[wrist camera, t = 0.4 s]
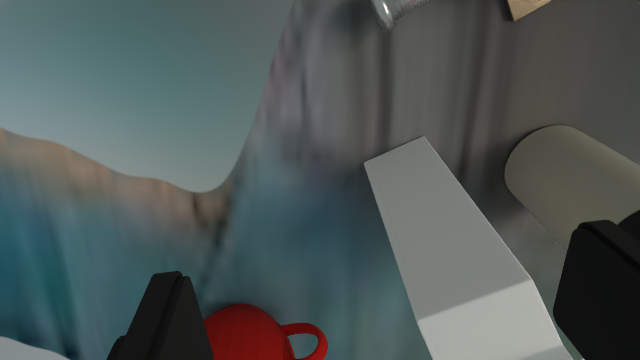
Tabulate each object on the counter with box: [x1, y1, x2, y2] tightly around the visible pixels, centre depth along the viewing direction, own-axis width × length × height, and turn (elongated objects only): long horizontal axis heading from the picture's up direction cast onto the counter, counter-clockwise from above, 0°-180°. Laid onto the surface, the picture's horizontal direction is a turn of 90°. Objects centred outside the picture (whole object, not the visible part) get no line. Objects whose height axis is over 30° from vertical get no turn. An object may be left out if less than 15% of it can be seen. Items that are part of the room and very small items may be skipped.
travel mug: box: [505, 125, 640, 251], centre depth 30 cm, size 8×8×18 cm
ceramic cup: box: [203, 304, 328, 360], centre depth 41 cm, size 13×17×10 cm
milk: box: [364, 136, 573, 360], centre depth 28 cm, size 6×6×22 cm
